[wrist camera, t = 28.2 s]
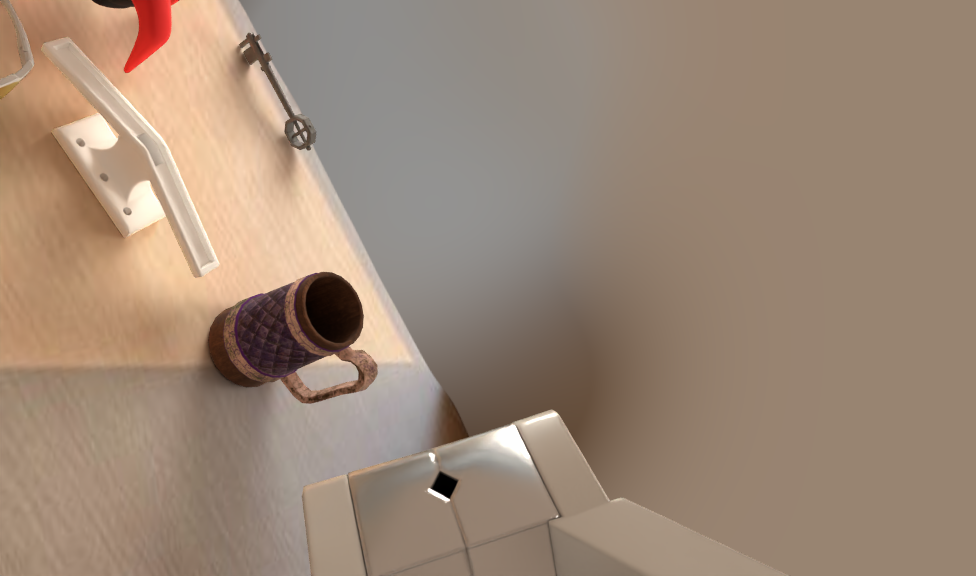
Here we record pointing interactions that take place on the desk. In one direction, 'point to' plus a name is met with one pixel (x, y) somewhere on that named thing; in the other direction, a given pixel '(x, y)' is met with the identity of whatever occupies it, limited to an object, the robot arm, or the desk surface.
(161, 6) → the toy rocket
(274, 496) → the desk surface
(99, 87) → the t-shaped cleat
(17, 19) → the sunglasses
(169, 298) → the desk surface
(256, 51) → the key
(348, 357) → the mug
